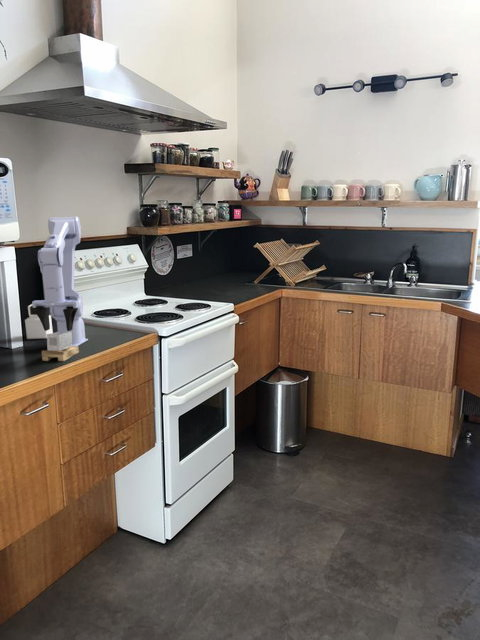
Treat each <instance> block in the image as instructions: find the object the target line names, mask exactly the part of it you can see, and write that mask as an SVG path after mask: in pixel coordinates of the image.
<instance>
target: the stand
mask: <svg viewBox="0 0 480 640" xmlns="http://www.w3.org/2000/svg"><path fill="white" fill-rule="evenodd" d="M79 349H80V348H79V346H72V347H71V348H67V349H64V350H61V351H48V349H46V350H41V359H42V361H44V362H48V361H51V360H52V359H54V358H57V361H58V362H65V361H66V360H68V359H70V358H72V357H73V356H74V355H77V354H78V353H80V350H79Z"/></svg>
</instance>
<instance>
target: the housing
mask: <svg viewBox="0 0 480 640" xmlns="http://www.w3.org/2000/svg"><path fill="white" fill-rule="evenodd" d="M46 344H47V346H46V347H47V349H46V350H48V351H61V350H64V349H67V348H71V347H72V332H70V331H59V332H58V331H56V332H53V333H51V334H47V338H46Z"/></svg>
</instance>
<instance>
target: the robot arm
mask: <svg viewBox="0 0 480 640" xmlns="http://www.w3.org/2000/svg"><path fill="white" fill-rule="evenodd" d="M47 228H48V231H49V234H50V235H48V237H47V238H46V240H45V243H44V245H43V247H41V248H40V249H39V250H38V251H37V261H38V266H39V267H40V269H39V270H40V273H41V274H42V281H43V290H44V291H43V293H44V300H43V299H41V300H39V299H38V300H33V301H32V303H31V304H32V305H33V308H36V309H35V310H34V312H35V313H36V314H37V316H38V317H39V319H40V321H41V323H42V325H43V328H44V330H45V331H47V330H49V329H50V323H49V315H51V318H53V319H54V320H55V321H56V326H57V332H59V331H70V332H72V346H78V347H79V346H81V345H82V344H84V343H85V342H87V341H88V340H89V339H88V338H86V332H85V331H86V330H85V329H86V328H85V322H84V320H83V318H81V317H82V316H83V315H84V303H83V297H82V296H81V294H80V293H79V292H77V291H76V290H75V250H76V246H77V245H78V244H80V243H81V238H82V234H81V232H82V231H81V230H82V228H81V220H80V218H79V216H76V215H75V216H62V217H61V216H59V217H53V216H50V217H49V219H48V221H47Z"/></svg>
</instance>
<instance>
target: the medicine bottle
mask: <svg viewBox="0 0 480 640" xmlns="http://www.w3.org/2000/svg"><path fill="white" fill-rule="evenodd" d="M35 309H36V308H33V305H32V303H31V304H30V305H27V310H28V311H27V312H28V316H29V317H27V318H25V319H24V323H25V333H26V339H27V340H34V339H35V340H37V339H47V334H51V333H54V331H53V324H52V322H53V321H52V316H51V314H49V323H50V329H49V330H47V331H45V330H44V328H43V325H42V323H41V321H40V319H39V317H38V316H37V314H36V313H35V312H34V310H35Z"/></svg>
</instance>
